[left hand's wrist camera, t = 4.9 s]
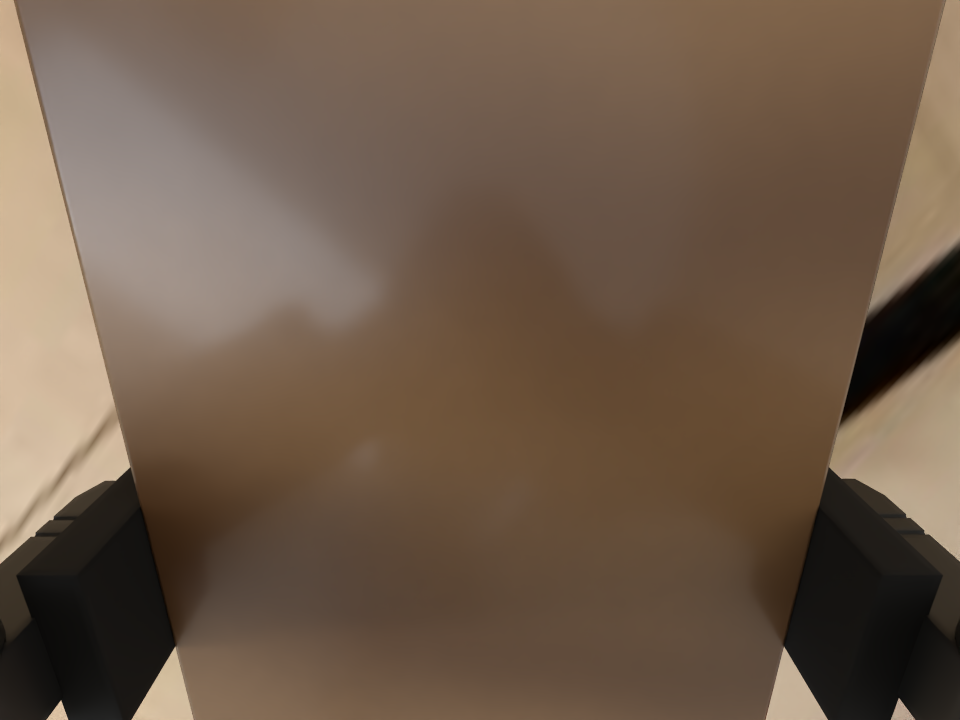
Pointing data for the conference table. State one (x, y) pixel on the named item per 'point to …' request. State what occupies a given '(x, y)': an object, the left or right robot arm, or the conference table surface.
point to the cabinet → (479, 331)
